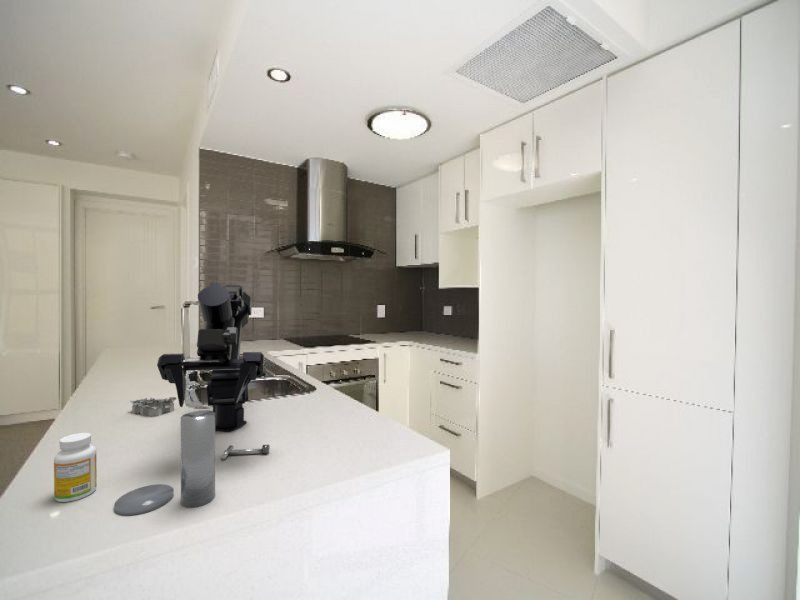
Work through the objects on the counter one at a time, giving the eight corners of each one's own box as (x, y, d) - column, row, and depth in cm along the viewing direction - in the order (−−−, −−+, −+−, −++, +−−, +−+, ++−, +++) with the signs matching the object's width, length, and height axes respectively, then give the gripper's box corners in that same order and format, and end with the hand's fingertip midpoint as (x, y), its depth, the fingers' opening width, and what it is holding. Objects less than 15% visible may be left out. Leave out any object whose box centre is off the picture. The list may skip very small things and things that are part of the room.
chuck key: (220, 460, 75) (220, 451, 75) (228, 450, 80) (228, 441, 80) (265, 458, 76) (266, 449, 76) (271, 448, 81) (271, 440, 81)
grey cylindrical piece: (173, 505, 59) (173, 419, 59) (196, 489, 64) (196, 409, 64) (200, 509, 58) (199, 421, 58) (221, 492, 63) (221, 411, 63)
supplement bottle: (71, 486, 65) (71, 431, 65) (104, 485, 65) (104, 430, 65) (45, 503, 59) (44, 444, 59) (80, 502, 60) (80, 443, 60)
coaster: (100, 511, 57) (100, 507, 57) (146, 485, 65) (146, 481, 65) (143, 518, 56) (143, 515, 56) (184, 491, 64) (184, 487, 64)
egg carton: (178, 411, 106) (178, 397, 106) (151, 419, 99) (151, 404, 99) (154, 405, 110) (154, 392, 110) (127, 413, 103) (127, 398, 103)
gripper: (160, 312, 70) (140, 385, 61) (264, 313, 77) (261, 380, 67) (170, 346, 78) (154, 415, 68) (264, 344, 84) (261, 408, 74)
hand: (208, 404), depth 69 cm, fingers open, 9 cm apart
